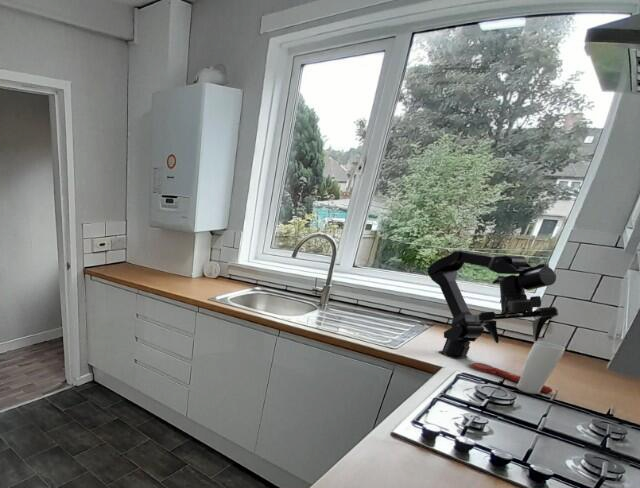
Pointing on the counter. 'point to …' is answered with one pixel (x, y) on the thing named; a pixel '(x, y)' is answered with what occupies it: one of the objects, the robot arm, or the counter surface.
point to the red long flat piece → (503, 374)
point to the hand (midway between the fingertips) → (516, 342)
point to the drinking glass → (539, 366)
